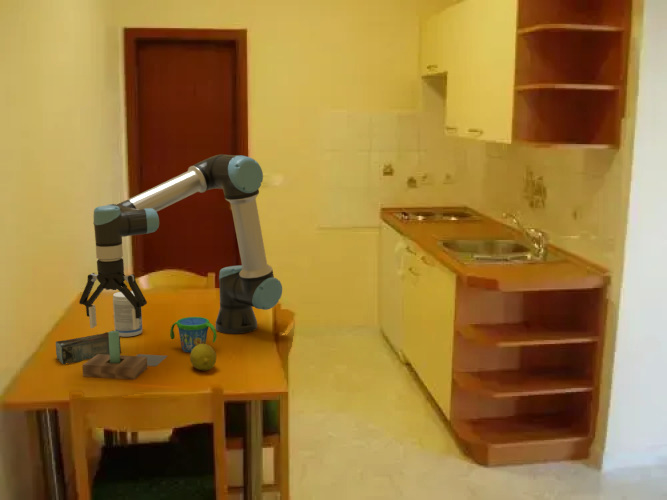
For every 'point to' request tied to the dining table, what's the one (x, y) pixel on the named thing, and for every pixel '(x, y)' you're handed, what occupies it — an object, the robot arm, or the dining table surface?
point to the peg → (114, 347)
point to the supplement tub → (124, 316)
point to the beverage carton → (82, 348)
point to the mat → (153, 359)
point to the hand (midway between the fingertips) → (114, 327)
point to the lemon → (203, 357)
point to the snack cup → (192, 332)
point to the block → (115, 367)
